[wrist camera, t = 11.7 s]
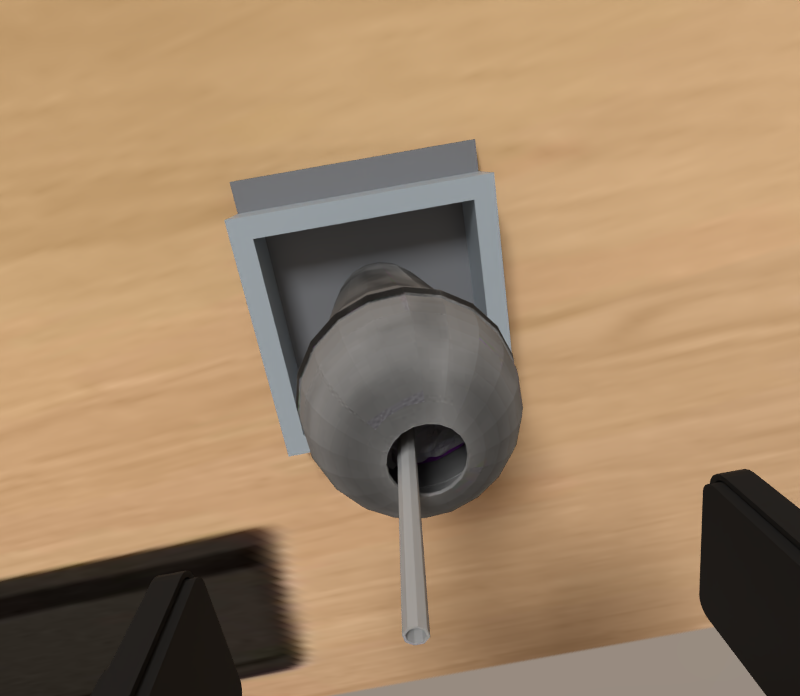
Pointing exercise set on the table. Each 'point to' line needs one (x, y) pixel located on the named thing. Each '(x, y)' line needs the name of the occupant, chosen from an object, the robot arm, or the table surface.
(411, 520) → the beverage cup
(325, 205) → the blue-grey tray
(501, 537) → the table surface
